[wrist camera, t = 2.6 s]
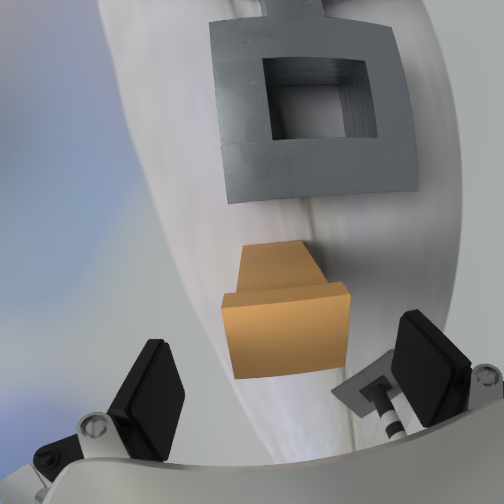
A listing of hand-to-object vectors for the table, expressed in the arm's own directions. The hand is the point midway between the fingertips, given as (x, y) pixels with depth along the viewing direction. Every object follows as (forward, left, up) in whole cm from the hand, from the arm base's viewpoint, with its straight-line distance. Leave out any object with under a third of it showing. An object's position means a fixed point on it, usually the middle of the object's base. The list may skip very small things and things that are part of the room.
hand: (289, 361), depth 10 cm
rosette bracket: (-18, +3, -10) cm, 21 cm away
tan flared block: (-1, 0, -10) cm, 10 cm away
